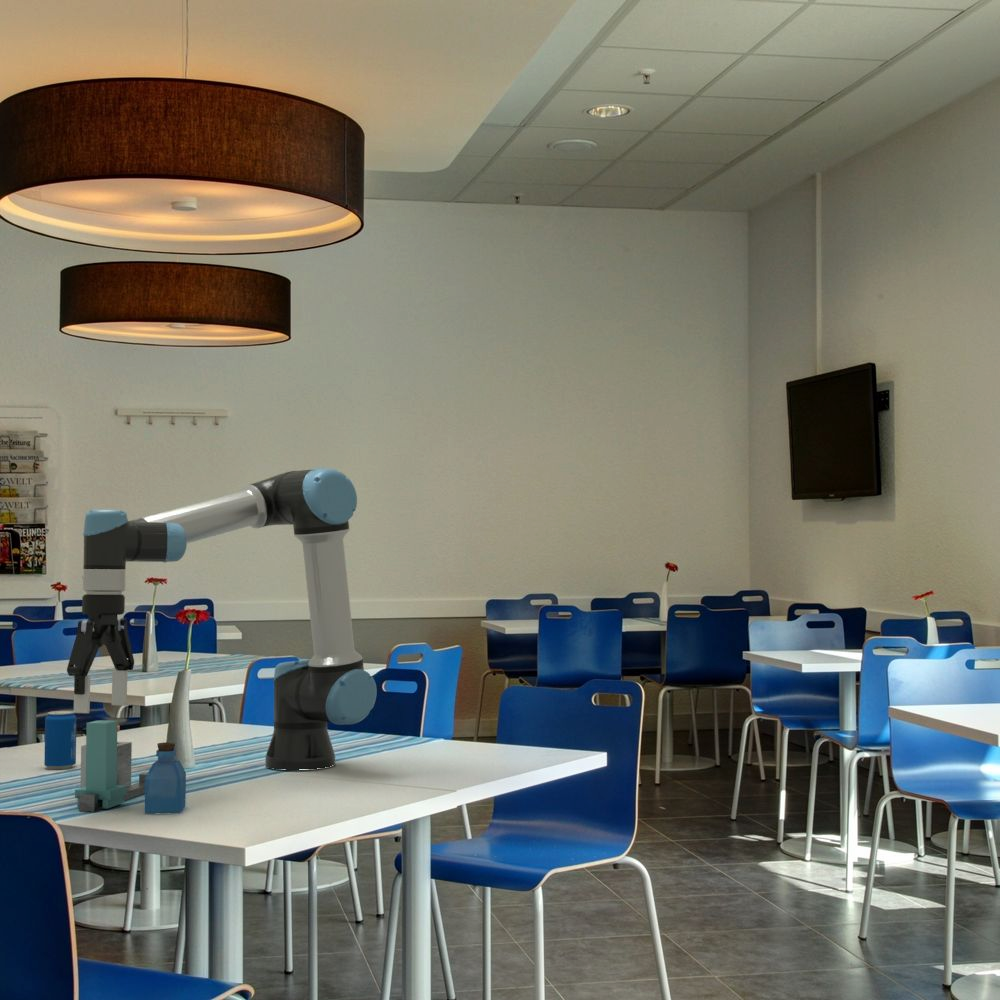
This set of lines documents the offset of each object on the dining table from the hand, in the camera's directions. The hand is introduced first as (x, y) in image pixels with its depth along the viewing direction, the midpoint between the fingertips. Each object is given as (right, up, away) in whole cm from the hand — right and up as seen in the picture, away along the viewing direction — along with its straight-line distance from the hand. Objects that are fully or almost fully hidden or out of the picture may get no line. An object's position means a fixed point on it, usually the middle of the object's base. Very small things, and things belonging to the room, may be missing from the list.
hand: (100, 709), depth 239 cm
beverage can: (-22, -20, +44) cm, 53 cm away
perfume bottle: (+13, -18, -4) cm, 22 cm away
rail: (+2, -18, +6) cm, 19 cm away
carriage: (0, -18, -1) cm, 18 cm away
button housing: (-4, -19, +16) cm, 25 cm away
